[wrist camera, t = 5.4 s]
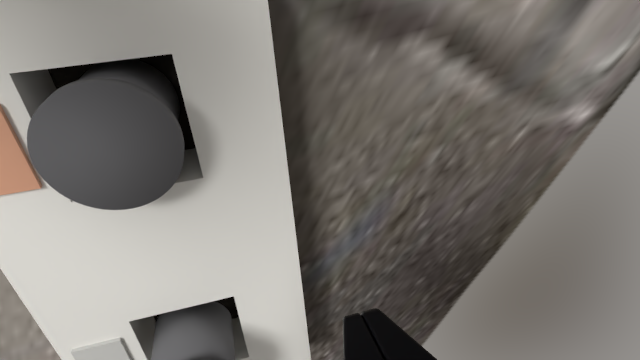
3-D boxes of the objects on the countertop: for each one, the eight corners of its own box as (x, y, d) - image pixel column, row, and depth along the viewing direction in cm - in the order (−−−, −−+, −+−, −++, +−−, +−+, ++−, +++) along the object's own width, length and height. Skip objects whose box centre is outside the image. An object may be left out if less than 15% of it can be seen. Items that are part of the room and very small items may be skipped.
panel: (301, 327, 27) (312, 369, 24) (114, 376, 25) (104, 428, 22) (252, -41, 15) (263, -38, 13) (-109, -12, 13) (-187, -1, 10)
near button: (197, 145, 18) (197, 196, 15) (91, 162, 17) (62, 221, 14) (171, 43, 16) (163, 73, 12) (47, 57, 15) (-3, 95, 11)
